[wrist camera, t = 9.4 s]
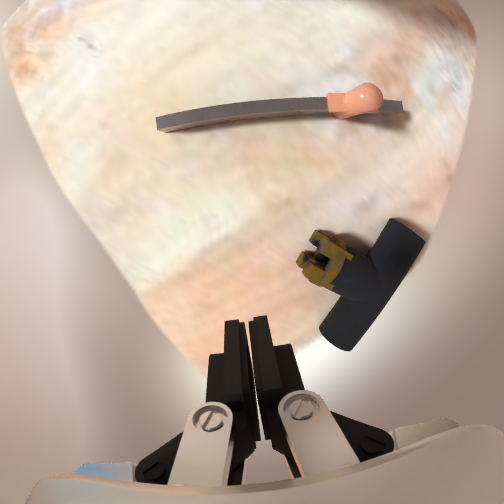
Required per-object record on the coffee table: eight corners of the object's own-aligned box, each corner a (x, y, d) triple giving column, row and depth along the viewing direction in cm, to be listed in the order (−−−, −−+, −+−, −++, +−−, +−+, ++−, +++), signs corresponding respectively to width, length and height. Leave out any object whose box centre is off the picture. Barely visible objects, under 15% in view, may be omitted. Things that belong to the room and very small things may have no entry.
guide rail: (163, 115, 24) (141, 103, 18) (387, 100, 25) (423, 90, 18) (165, 138, 25) (144, 132, 19) (389, 120, 26) (427, 114, 19)
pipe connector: (276, 325, 27) (361, 190, 23) (269, 299, 32) (339, 184, 28) (358, 356, 30) (433, 248, 26) (343, 331, 35) (407, 234, 31)
